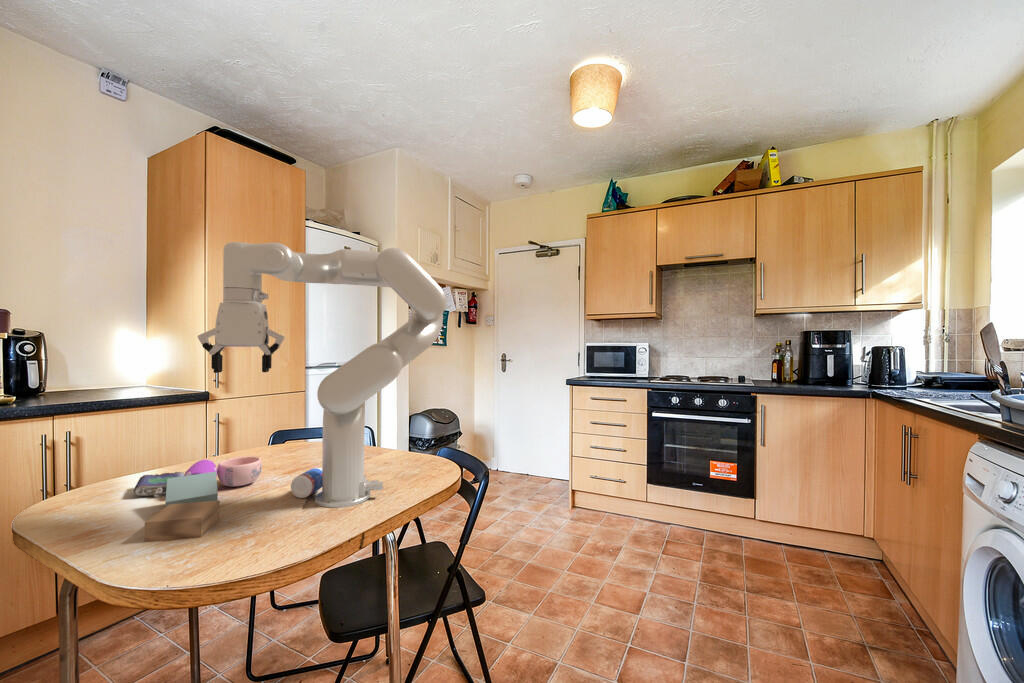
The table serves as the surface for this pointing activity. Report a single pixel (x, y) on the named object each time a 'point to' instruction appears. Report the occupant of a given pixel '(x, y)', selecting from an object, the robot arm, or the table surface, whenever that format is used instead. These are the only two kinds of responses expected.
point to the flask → (154, 484)
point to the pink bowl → (239, 470)
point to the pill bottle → (307, 483)
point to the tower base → (182, 521)
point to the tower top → (192, 489)
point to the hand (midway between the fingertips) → (242, 372)
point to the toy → (202, 468)
